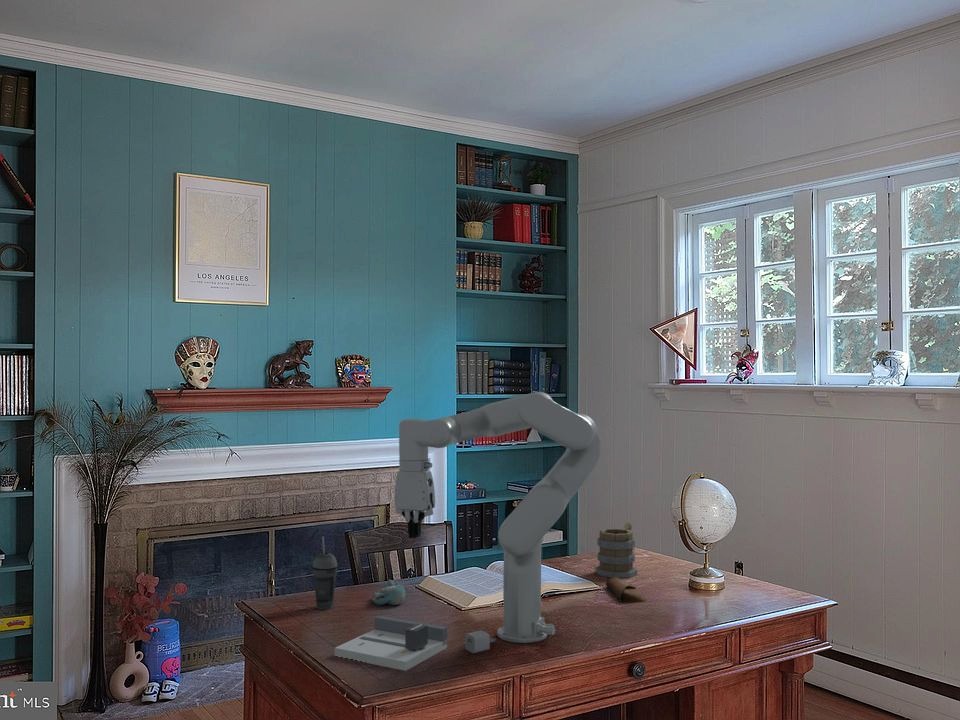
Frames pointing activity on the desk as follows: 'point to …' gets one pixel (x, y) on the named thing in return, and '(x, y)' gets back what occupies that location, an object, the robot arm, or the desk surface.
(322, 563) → the beverage cup
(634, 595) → the sunglasses case
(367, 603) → the desk surface
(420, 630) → the fader knob
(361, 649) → the console
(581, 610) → the desk surface
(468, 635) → the usb wall charger
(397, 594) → the stuffed animal
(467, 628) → the desk surface
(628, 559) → the tankard
